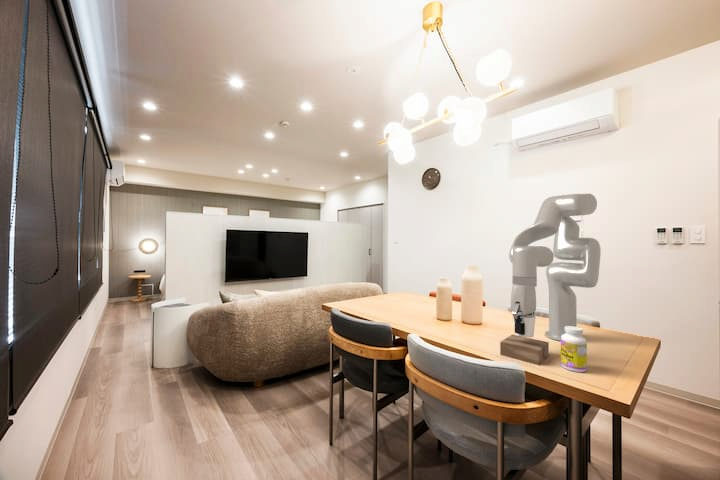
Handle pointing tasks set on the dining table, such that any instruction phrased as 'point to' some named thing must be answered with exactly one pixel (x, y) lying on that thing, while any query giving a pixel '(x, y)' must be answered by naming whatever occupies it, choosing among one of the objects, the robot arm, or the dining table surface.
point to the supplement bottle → (573, 349)
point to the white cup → (528, 325)
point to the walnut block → (524, 349)
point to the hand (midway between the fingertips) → (524, 331)
